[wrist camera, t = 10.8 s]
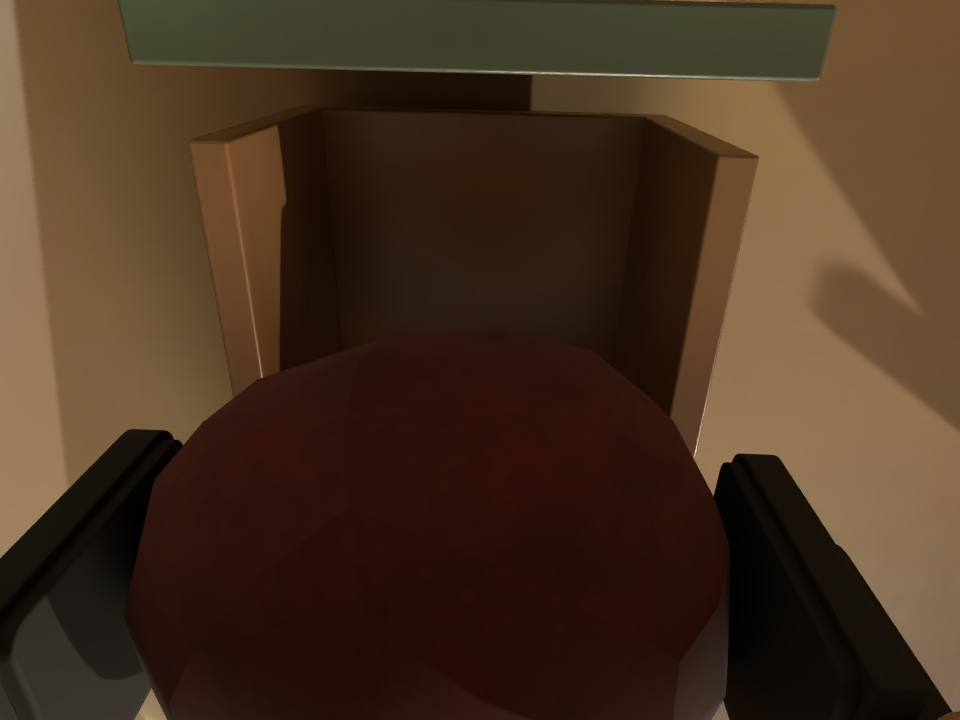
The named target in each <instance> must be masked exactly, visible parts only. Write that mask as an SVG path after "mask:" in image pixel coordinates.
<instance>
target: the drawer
mask: <svg viewBox="0 0 960 720" xmlns="http://www.w3.org/2000/svg"><path fill="white" fill-rule="evenodd" d="M118 3H119V8H120V13H121V18H122V22H123V27H124V32H125V37H126V42H127V47H128V52H129V56H130V60H131V62H132V63H134V64H140V65H178V66H216V67H254V68H293V69H331V70H369V71H407V72H445V73H483V74H521V75H559V76H597V77H635V78H673V79H711V80H749V81H787V82H816V81H818V80H819V79H820V77H821V73H822V69H823V65H824V61H825V57H826V53H827V49H828V45H829V40H830V36H831V32H832V28H833V24H834V20H835V16H836V12H837V7H836V6H834V5H821V4H778V3H735V2H693V1H650V0H118ZM188 145H189V150H190V156H191V161H192V167H193V173H194V178H195V184H196V189H197V195H198V201H199V206H200V212H201V218H202V223H203V229H204V234H205V240H206V246H207V251H208V257H209V262H210V268H211V274H212V279H213V285H214V290H215V296H216V302H217V307H218V313H219V318H220V324H221V330H222V335H223V341H224V346H225V352H226V358H227V363H228V369H229V374H230V380H231V386H232V391H233V397H236V396H237V395H238V394H240V393H241V392H242V391H243V390H245V389H246V388H247V387H248V386H250V385H251V384H252V383H253V382H255V381H256V380H257V379H260V378H263V377H266V376H269V375H272V374H275V373H278V372H281V371H284V370H287V369H290V368H294V367H297V366H300V365H303V364H306V363H309V362H312V361H315V360H318V359H321V358H324V357H327V356H330V355H333V354H336V353H339V352H342V351H345V350H349V349H352V348H355V347H358V346H361V345H364V344H367V343H370V342H373V341H376V340H379V339H383V338H388V337H393V336H398V335H410V334H425V333H441V332H457V331H473V330H489V329H504V328H506V329H510V330H514V331H518V332H522V333H526V334H530V335H534V336H538V337H542V338H545V339H549V340H553V341H557V342H561V343H565V344H569V345H573V346H577V347H581V348H585V349H588V350H592V351H593V352H594V353H596V354H597V355H598V356H599V357H600V358H602V359H603V360H604V361H605V362H607V363H608V364H609V365H610V366H612V367H613V368H614V369H615V370H616V371H618V372H619V373H620V374H621V375H623V376H624V377H625V378H626V379H628V380H629V381H630V382H631V383H632V384H634V385H635V386H636V387H637V388H639V389H640V390H641V391H642V392H644V393H645V394H646V395H647V396H648V397H650V398H651V399H652V400H653V401H654V402H655V403H656V404H657V405H658V406H659V407H660V408H661V409H662V410H663V411H664V412H665V413H666V414H667V415H668V416H669V417H670V418H671V419H672V420H673V421H674V423H675V424H676V426H677V428H678V430H679V432H680V434H681V436H682V438H683V439H684V441H685V443H686V445H687V447H688V449H689V451H690V453H691V455H692V457H693V459H695V454H696V450H697V445H698V440H699V436H700V431H701V426H702V422H703V417H704V412H705V408H706V403H707V399H708V394H709V389H710V385H711V380H712V375H713V371H714V366H715V361H716V357H717V352H718V347H719V343H720V338H721V333H722V329H723V324H724V319H725V315H726V310H727V305H728V301H729V296H730V291H731V287H732V282H733V277H734V273H735V268H736V263H737V259H738V254H739V250H740V245H741V240H742V236H743V231H744V226H745V222H746V217H747V212H748V208H749V203H750V198H751V194H752V189H753V184H754V180H755V175H756V170H757V166H758V161H759V157H758V156H756V155H754V154H752V153H750V152H747V151H745V150H743V149H741V148H738V147H736V146H734V145H732V144H730V143H727V142H725V141H723V140H721V139H718V138H716V137H714V136H712V135H709V134H707V133H705V132H703V131H700V130H698V129H696V128H694V127H691V126H689V125H687V124H685V123H683V122H680V121H678V120H676V119H674V118H670V117H668V116H666V115H652V114H615V113H579V112H543V111H507V110H471V109H435V108H398V107H362V106H326V105H303V106H300V107H296V108H293V109H289V110H286V111H283V112H280V113H276V114H273V115H270V116H266V117H263V118H260V119H256V120H253V121H250V122H246V123H243V124H240V125H236V126H233V127H230V128H227V129H223V130H220V131H217V132H213V133H210V134H207V135H203V136H200V137H197V138H193V139H191V140H189V143H188Z"/></svg>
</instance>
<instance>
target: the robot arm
mask: <svg viewBox="0 0 960 720" xmlns="http://www.w3.org/2000/svg"><path fill="white" fill-rule="evenodd" d="M182 447H183V444H182V443H181V442H180V441H179V440H174V438H173V436H172V435H171V433H170V432H168V431H165V430H141V429H131V430H127V431H126V432H125V433H123V434H122V435H121V436H120V437H119V438H118V439H117V440H116V441H115V442H114V443H113V444H112V445H111V446H110V447H109V448H108V449H107V450H106V451H105V452H104V454H103V455H102V456H101V457H100V458H99V459H98V460H97V461H96V462H95V463H94V464H93V465H92V466H91V467H90V468H89V469H88V470H87V471H86V472H85V473H84V474H83V475H82V476H81V477H80V478H79V479H78V480H77V481H76V482H75V483H74V484H73V485H72V486H71V487H70V488H69V489H68V490H67V491H66V492H65V493H64V494H63V495H62V496H61V497H60V498H59V499H58V501H56V502H55V503H54V504H53V505H52V506H51V507H50V508H49V509H48V511H46V513H45V514H44V515H43V516H42V517H41V518H40V519H39V520H38V521H37V522H36V523H35V524H34V525H33V526H32V527H31V528H30V529H29V530H28V531H27V532H26V533H25V534H24V535H23V536H22V537H21V538H20V539H19V540H18V541H17V542H16V543H15V544H14V545H13V546H12V547H11V548H10V549H9V550H8V551H7V552H6V553H5V554H4V555H3V556H2V557H1V558H0V720H134V719H135V717H136V715H137V714H138V712H139V710H140V708H141V706H142V704H143V703H144V701H145V699H146V697H147V695H148V694H149V692H150V690H151V688H152V687H151V685H150V683H149V681H148V679H147V677H146V675H145V673H144V671H143V669H142V667H141V664H140V661H139V659H138V656H137V653H136V651H135V648H134V645H133V642H132V640H131V637H130V634H129V632H128V629H127V626H126V623H125V621H124V618H123V615H124V610H125V606H126V602H127V597H128V593H129V588H130V584H131V580H132V575H133V571H134V566H135V562H136V558H137V553H138V549H139V544H140V540H141V536H142V531H143V527H144V522H145V518H146V514H147V509H148V505H149V500H150V496H151V492H152V487H153V483H154V480H155V479H156V477H157V476H158V475H159V474H160V473H161V472H162V470H163V469H164V468H165V467H166V466H167V464H168V463H169V462H170V461H171V460H172V458H173V457H174V456H175V455H176V454H177V452H178V451H179V450H180V449H181V448H182ZM714 499H715V501H716V503H717V506H718V509H719V513H720V516H721V519H722V522H723V526H724V529H725V532H726V536H727V539H728V542H729V545H730V592H729V652H728V667H727V683H726V696H725V698H724V699H723V701H724V704H725V707H726V710H727V713H728V716H729V719H730V720H960V712H952V711H951V709H950V708H949V706H948V705H947V703H946V702H945V700H944V699H943V697H942V696H941V694H940V693H939V691H938V689H937V688H936V686H935V685H934V683H933V682H932V680H931V679H930V677H929V676H928V674H927V673H926V671H925V670H924V668H923V667H922V665H921V664H920V662H919V661H918V659H917V658H916V656H915V655H914V653H913V652H912V650H911V649H910V647H909V646H908V644H907V643H906V641H905V640H904V638H903V637H902V635H901V634H900V632H899V631H898V629H897V628H896V626H895V625H894V623H893V622H892V620H891V619H890V617H889V616H888V614H887V613H886V611H885V610H884V608H883V607H882V605H881V604H880V602H879V601H878V599H877V598H876V596H875V595H874V593H873V592H872V590H871V589H870V587H869V586H868V584H867V583H866V581H865V580H864V578H863V577H862V575H861V574H860V572H859V571H858V569H857V568H856V566H855V565H854V563H853V562H852V560H851V559H850V557H849V556H848V555H847V553H846V552H845V551H844V550H843V549H842V548H841V547H840V546H838V545H836V544H835V542H834V541H833V539H832V538H831V536H830V535H829V533H828V531H827V530H826V528H825V527H824V525H823V524H822V522H821V521H820V519H819V518H818V516H817V515H816V513H815V512H814V510H813V509H812V507H811V506H810V504H809V503H808V501H807V499H806V498H805V496H804V495H803V493H802V492H801V490H800V489H799V487H798V486H797V484H796V483H795V481H794V480H793V478H792V477H791V475H790V474H789V472H788V471H787V469H786V467H785V466H784V464H783V463H782V461H781V460H780V459H779V458H778V457H777V456H775V455H761V454H737V455H736V456H735V457H734V458H733V461H732V463H730V462H725V463H723V465H722V466H721V469H720V472H719V477H718V481H717V485H716V489H715V493H714Z"/></svg>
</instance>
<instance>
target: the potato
mask: <svg viewBox="0 0 960 720" xmlns="http://www.w3.org/2000/svg"><path fill="white" fill-rule="evenodd" d="M729 592H730V545H729V542H728V539H727V536H726V532H725V529H724V526H723V522H722V519H721V516H720V513H719V509H718V506H717V503H716V501H715V499H714V497H713V495H712V493H711V491H710V489H709V487H708V485H707V483H706V481H705V480H704V478H703V476H702V474H701V472H700V470H699V468H698V466H697V464H696V462H695V460H694V459H693V457H692V455H691V453H690V451H689V449H688V447H687V445H686V443H685V441H684V439H683V438H682V436H681V434H680V432H679V430H678V428H677V426H676V424H675V423H674V421H673V420H672V419H671V418H670V417H669V416H668V415H667V414H666V413H665V412H664V411H663V410H662V409H661V408H660V407H659V406H658V405H657V404H656V403H655V402H654V401H653V400H652V399H651V398H650V397H648V396H647V395H646V394H645V393H644V392H642V391H641V390H640V389H639V388H637V387H636V386H635V385H634V384H632V383H631V382H630V381H629V380H628V379H626V378H625V377H624V376H623V375H621V374H620V373H619V372H618V371H616V370H615V369H614V368H613V367H612V366H610V365H609V364H608V363H607V362H605V361H604V360H603V359H602V358H600V357H599V356H598V355H597V354H596V353H594V352H593V351H592V350H588V349H585V348H581V347H577V346H573V345H569V344H565V343H561V342H557V341H553V340H549V339H545V338H542V337H538V336H534V335H530V334H526V333H522V332H518V331H514V330H510V329H506V328H504V329H489V330H473V331H457V332H441V333H425V334H410V335H398V336H393V337H388V338H383V339H379V340H376V341H373V342H370V343H367V344H364V345H361V346H358V347H355V348H352V349H349V350H345V351H342V352H339V353H336V354H333V355H330V356H327V357H324V358H321V359H318V360H315V361H312V362H309V363H306V364H303V365H300V366H297V367H294V368H290V369H287V370H284V371H281V372H278V373H275V374H272V375H269V376H266V377H263V378H260V379H257V380H256V381H255V382H253V383H252V384H251V385H250V386H248V387H247V388H246V389H245V390H243V391H242V392H241V393H240V394H238V395H237V396H236V397H234V398H233V399H232V400H231V401H229V402H228V403H227V404H226V405H224V406H223V407H222V408H221V409H219V410H218V411H217V412H215V413H214V414H213V415H212V416H210V417H209V418H208V419H207V420H205V421H204V422H203V423H202V424H201V425H200V426H199V428H198V429H197V430H196V431H195V432H194V433H193V435H192V436H191V437H190V438H189V439H188V441H187V442H186V443H185V444H184V445H183V447H182V448H181V449H180V450H179V451H178V452H177V454H176V455H175V456H174V457H173V458H172V460H171V461H170V462H169V463H168V464H167V466H166V467H165V468H164V469H163V470H162V472H161V473H160V474H159V475H158V476H157V477H156V479H155V480H154V483H153V487H152V492H151V496H150V500H149V505H148V509H147V514H146V518H145V522H144V527H143V531H142V536H141V540H140V544H139V549H138V553H137V558H136V562H135V566H134V571H133V575H132V580H131V584H130V588H129V593H128V597H127V602H126V606H125V610H124V615H123V618H124V621H125V623H126V626H127V629H128V632H129V634H130V637H131V640H132V642H133V645H134V648H135V651H136V653H137V656H138V659H139V661H140V664H141V667H142V669H143V671H144V673H145V675H146V677H147V679H148V681H149V683H150V685H151V687H152V689H153V691H154V693H155V696H156V698H157V700H158V702H159V704H160V706H161V708H162V710H163V712H164V714H165V716H166V718H167V720H711V719H712V718H713V716H714V714H715V713H716V711H717V709H718V708H719V706H720V704H721V703H722V701H723V699H724V698H725V696H726V683H727V667H728V652H729Z"/></svg>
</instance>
